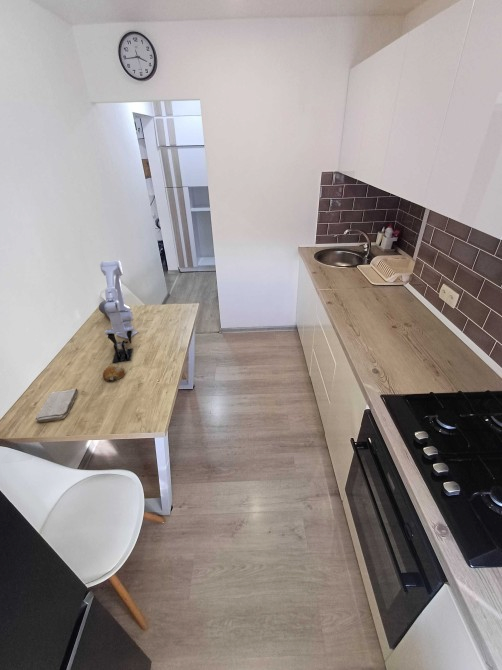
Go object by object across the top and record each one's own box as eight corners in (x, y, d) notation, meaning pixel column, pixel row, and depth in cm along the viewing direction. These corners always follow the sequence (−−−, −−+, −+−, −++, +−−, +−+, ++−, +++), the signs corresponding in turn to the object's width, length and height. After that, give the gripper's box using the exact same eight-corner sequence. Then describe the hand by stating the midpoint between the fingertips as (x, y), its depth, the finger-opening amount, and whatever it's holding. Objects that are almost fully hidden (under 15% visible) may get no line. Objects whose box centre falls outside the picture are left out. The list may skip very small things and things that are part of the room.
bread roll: (129, 379, 159) (129, 364, 158) (114, 384, 150) (115, 368, 148) (113, 376, 162) (113, 360, 161) (97, 380, 152) (98, 364, 151)
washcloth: (36, 424, 131) (33, 419, 130) (52, 395, 146) (49, 389, 145) (66, 419, 133) (63, 414, 131) (78, 391, 148) (76, 386, 146)
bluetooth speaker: (131, 321, 204) (127, 307, 199) (117, 327, 198) (113, 312, 193) (113, 311, 217) (109, 298, 212) (100, 316, 211) (96, 303, 206)
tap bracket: (116, 352, 174) (111, 338, 170) (133, 349, 176) (129, 336, 171) (113, 364, 165) (108, 350, 160) (130, 361, 166) (126, 347, 162)
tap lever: (119, 345, 175) (118, 341, 174) (128, 343, 175) (127, 339, 175) (114, 349, 165) (113, 345, 165) (124, 348, 166) (123, 343, 165)
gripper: (101, 328, 163) (108, 349, 170) (130, 324, 165) (136, 345, 172) (103, 321, 169) (110, 342, 176) (131, 317, 171) (137, 339, 178)
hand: (123, 343), depth 175 cm, fingers open, 7 cm apart
